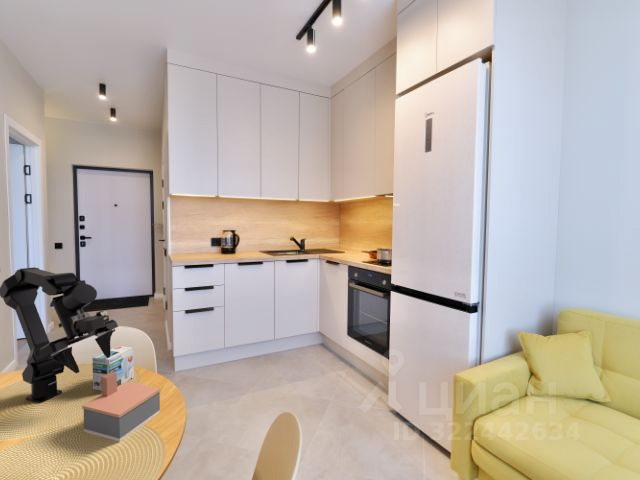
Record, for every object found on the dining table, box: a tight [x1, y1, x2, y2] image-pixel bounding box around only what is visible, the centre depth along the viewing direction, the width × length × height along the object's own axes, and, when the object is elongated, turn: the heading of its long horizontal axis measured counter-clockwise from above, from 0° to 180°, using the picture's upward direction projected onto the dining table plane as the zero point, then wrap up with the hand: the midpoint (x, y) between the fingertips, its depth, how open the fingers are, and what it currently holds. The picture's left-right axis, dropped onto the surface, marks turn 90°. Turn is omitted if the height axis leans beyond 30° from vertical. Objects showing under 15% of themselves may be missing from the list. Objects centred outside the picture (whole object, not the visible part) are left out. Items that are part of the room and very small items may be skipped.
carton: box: [83, 391, 161, 443], centre depth 88 cm, size 12×13×6 cm
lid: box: [81, 372, 162, 418], centre depth 88 cm, size 12×13×6 cm
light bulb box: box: [91, 345, 135, 392], centre depth 109 cm, size 11×7×11 cm, turn 168°
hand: (94, 364), depth 92 cm, fingers open, 9 cm apart
